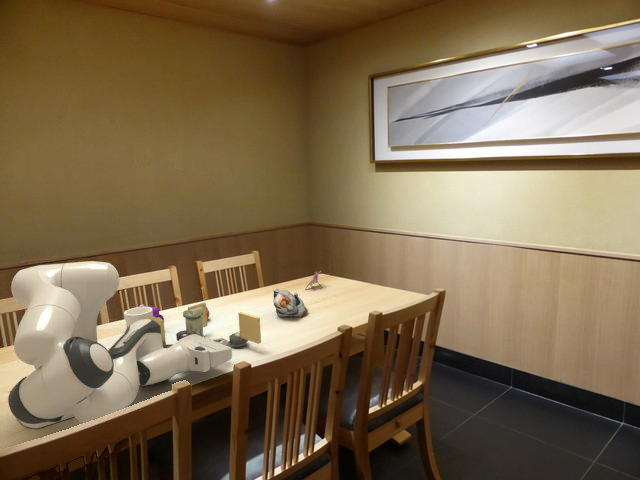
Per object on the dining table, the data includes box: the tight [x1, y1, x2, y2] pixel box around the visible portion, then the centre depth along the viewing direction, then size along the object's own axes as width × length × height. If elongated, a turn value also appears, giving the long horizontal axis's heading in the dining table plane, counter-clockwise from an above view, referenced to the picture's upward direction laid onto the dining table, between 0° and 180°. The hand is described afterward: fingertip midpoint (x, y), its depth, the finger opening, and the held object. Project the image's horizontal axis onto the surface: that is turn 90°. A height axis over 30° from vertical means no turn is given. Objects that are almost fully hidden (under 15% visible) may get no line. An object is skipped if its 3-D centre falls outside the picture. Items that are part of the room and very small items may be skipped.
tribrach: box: [149, 302, 246, 349], centre depth 159 cm, size 26×23×15 cm
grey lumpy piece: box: [273, 288, 309, 318], centre depth 191 cm, size 15×12×14 cm
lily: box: [304, 270, 323, 290], centre depth 231 cm, size 12×12×10 cm
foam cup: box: [123, 306, 153, 328], centre depth 164 cm, size 10×9×13 cm
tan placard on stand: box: [228, 311, 262, 345], centre depth 159 cm, size 6×14×11 cm, turn 50°
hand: (224, 340), depth 149 cm, fingers closed
